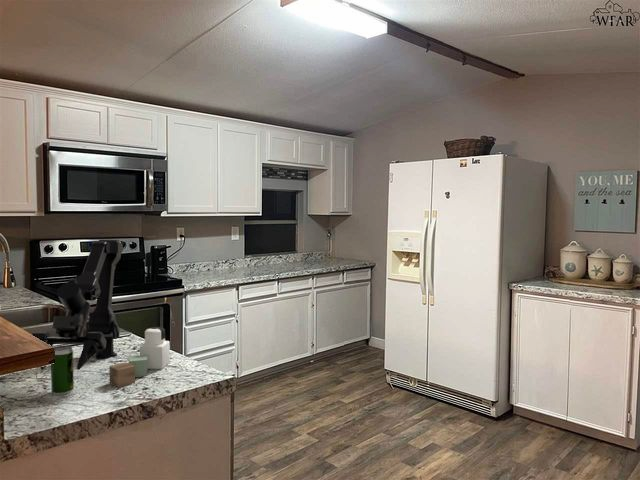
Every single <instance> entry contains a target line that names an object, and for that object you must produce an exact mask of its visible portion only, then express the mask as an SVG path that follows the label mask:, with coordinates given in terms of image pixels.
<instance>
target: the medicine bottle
mask: <svg viewBox="0 0 640 480" xmlns="http://www.w3.org/2000/svg"><path fill="white" fill-rule="evenodd" d="M170 344H171V343H170V341H169V340H166V329H165V328H163V327H161V326H152V327H148V328H146V329H145V330H144V343H143V344H142V345H140V346H139V356H140V355H146V357H147V370H162V369H164V368H165V367H166V366H168V365H169V363H170V357H171V356H170V355H171V352H170V351H171V349H170Z"/></svg>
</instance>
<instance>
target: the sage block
mask: <svg viewBox="0 0 640 480" xmlns="http://www.w3.org/2000/svg"><path fill="white" fill-rule="evenodd" d="M128 363H129V364H131V365H134V366H135V378H140V377H148V369H147V357H146V355H140V354H139V355H132V356H130V355H129V356H128Z"/></svg>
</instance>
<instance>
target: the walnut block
mask: <svg viewBox="0 0 640 480" xmlns="http://www.w3.org/2000/svg"><path fill="white" fill-rule="evenodd" d="M132 383H133V384H135V383H136V377H135V366H134V365H131V364H129V362H126V361H125V362H121V363H118V364H113V365H109V384H110V385H112V384H113V386H114V385H115V386H114V387H115V388H121V387H125V385H126V386H130V385H132Z"/></svg>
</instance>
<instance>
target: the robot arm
mask: <svg viewBox="0 0 640 480" xmlns="http://www.w3.org/2000/svg"><path fill="white" fill-rule="evenodd" d="M123 252H124V245H123V242H120V240H119V239H105V238H104V239H102V238H101V239H99V240H97V241H93V242H91V245H90V252H89V253H88V257H87V260H86V262H85V264H84V268H83V271H81V274H80V275H78V276H77V277H75V279H68V282H66V283H64V284H62V285H60V287H59V288H57V290H56V295H57V297H58V299H59V300H60V302H61V304H62V305H63V307H64V308H65V309H66V310H67V311H66V313H65V315H54V316H53V320H52V321H53V322H52V327H51V328H52V329H54V330H55V333H56V335H58V336H51V335H50V334H49V332H48V331H35V332H33V333H31V335H33V336H35V337H37V338H39V339H40V340H42V341H44V342H46V343H47V344H49V345H51V346H52V347H53V345H82V351H81V353H80V356H79V358H78V362H77V364H76V370H77V371H79V370H81V368H82V367H84V366H85V364H86V363H87V362H88V361H89V360H90V359H91V358H92V357H94V358H95V359H96V360H97V359H98V360H99V359H104V358H105V359H106V358H111V357H117V356H118V354H117V353H116V351H114V345H115V344H114V343H115V342H114V339H117V338H120V333H121V332H120V330H121V329H120V326H119V325H118V323H117V320H116V317H117V316H116V315H115V313H114V311H113V309H112V302H113V289H114V279H115V267H116V265H117V264H118V263H119V261H120V260H121V258H122V257H121V256H122V253H123ZM94 301H96V304H95V308H94V309H93V311H92V310H91V308H92V307H91V305H90V302H94ZM88 318H89V319H88ZM86 324H87V325H86ZM84 331H87V333H86V335H85V336H83V334H84ZM46 367H47V365H46V366H44V367H41V366H40V370H41V371H44V370H45V368H46Z"/></svg>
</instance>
